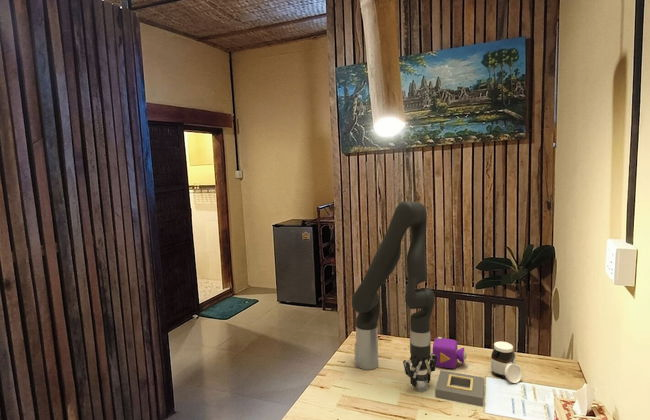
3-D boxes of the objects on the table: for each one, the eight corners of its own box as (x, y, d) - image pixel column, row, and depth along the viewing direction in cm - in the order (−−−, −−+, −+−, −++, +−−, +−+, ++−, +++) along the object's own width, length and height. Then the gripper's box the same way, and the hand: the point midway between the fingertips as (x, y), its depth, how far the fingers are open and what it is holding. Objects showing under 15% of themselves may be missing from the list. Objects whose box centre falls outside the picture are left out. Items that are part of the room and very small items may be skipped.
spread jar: (498, 365, 164) (498, 338, 162) (527, 374, 156) (528, 346, 154) (485, 376, 156) (486, 348, 154) (515, 387, 147) (516, 357, 146)
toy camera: (468, 371, 160) (468, 348, 158) (433, 369, 162) (433, 346, 161) (464, 358, 170) (464, 336, 169) (431, 356, 173) (431, 334, 172)
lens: (411, 390, 148) (411, 369, 147) (414, 382, 153) (414, 362, 152) (426, 393, 146) (426, 372, 145) (428, 385, 151) (428, 365, 150)
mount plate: (435, 397, 143) (435, 387, 143) (440, 377, 156) (440, 369, 156) (482, 406, 137) (482, 396, 137) (484, 385, 150) (484, 376, 149)
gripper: (409, 349, 141) (410, 393, 143) (442, 341, 146) (442, 384, 148) (398, 340, 148) (398, 383, 150) (430, 333, 153) (430, 374, 155)
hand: (420, 383), depth 149 cm, fingers closed on lens, 5 cm apart
